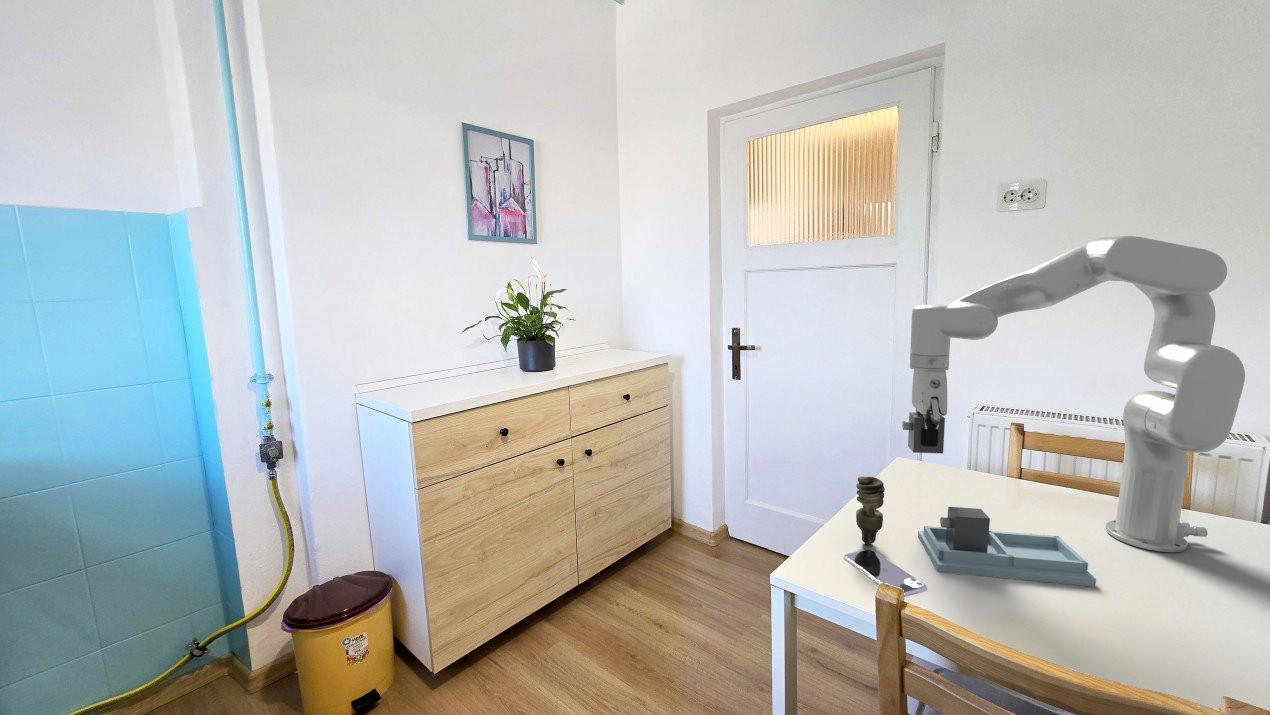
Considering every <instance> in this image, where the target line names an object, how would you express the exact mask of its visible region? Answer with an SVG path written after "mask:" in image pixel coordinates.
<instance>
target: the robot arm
mask: <svg viewBox="0 0 1270 715" xmlns="http://www.w3.org/2000/svg"><path fill="white" fill-rule="evenodd" d="M1227 276H1228V267H1227V264H1226V262H1225V260H1224V258H1222V257H1221V256H1220V255H1218V253H1216V252H1213V251H1211V250H1208V249H1204V248H1200V247H1199V248H1198V247H1195V246H1194V247H1193V246H1188V245H1183V244H1178V243H1172V242H1168V241H1162V240H1158V239H1153V238H1146V237H1143V236H1135V235H1122V236H1119V235H1118V236H1110V237H1100V238H1096V239H1093V240H1090V241H1088V242H1085V243H1082V244H1081V245H1078V246H1077V247H1074V248H1073V249H1070V250H1068V251H1066V252H1065V253H1062V254H1060V255H1058V256H1056V257H1054V258H1052V259H1050V260H1047V261H1045V262H1043V263H1041V264H1039V265H1036V266H1035V267H1032V268H1031V269H1028V270H1026V271H1024V272H1020V273H1018V274H1015V275H1012V276H1010V277H1007V278H1005V279H1003V280H1000V281H997V282H995V283H992V284H990V285H987V286H984V287H982V288H980V289H978V290H975V291H974V292H972V293H971V292H970V293H969V294H966V295H965V296H962V297H961V298H959V299H957V300H955V301H953V302H951V303H950V304H949V305H945V304H943V305H942V304H921V305H917V306H915V307H913V309H912V312H911V327H910V328H911V329H910V352H909V354H910V355H909V369H911V370H913V373H912V374H913V376H912V385H911V386H912V388H911V389H912V390H911V405H912V406H913V408H915V412H920V413H921V414H922V415H923V428H922V429H921V445H922V446H932V447H936V446H937V445H938V429H939V421H940V415H939V414H941V415H942V416H943V417H945V416H947V415H948V378H947V371H948V370H949V369H950V350H951V349H950V348H951V339H960V340H970V341H979V340H983V339H986V338H988V337H990V336H991V335H993V334H994V332H996V330H997V328H998V326H999V319H998V318H1001V317H1004V316H1007V315H1010V314H1013V313H1014V314H1015V313H1020V312H1025V311H1027V312H1028V311H1033V310H1034V311H1036V310H1040V309H1044V308H1047V307H1053V306H1055V305H1057V304H1058V303H1061V302H1064V301H1065V300H1068V299H1070V298H1072V297H1074V296H1076V295H1079V294H1081V293H1084V292H1085V291H1087V290H1090V289H1092V288H1094V287H1096V286H1099V285H1101V284H1103V283H1105V282H1110V281H1111V282H1113V281H1114V282H1124V283H1129V284H1133V286H1134V287H1135V288H1137V289H1138V290H1140V291H1141V292H1142V293H1143V294H1144V295H1145V296H1146V298H1148V300H1149V301H1150V303H1151V304H1152V309H1153V311H1154V312H1153V314H1154V318H1153V324H1152V329H1151V334H1150V338H1149V342H1148V346H1147V349H1146V353H1145V359H1144V362H1143V363H1144V364H1143V370H1144V374H1145V376H1146V377H1147V378H1148V379H1150V381H1153V382H1154V383H1156V384H1158V385H1161V386H1165V387H1169V388H1171V389H1174V390H1176V391H1175V393H1171V392H1168V391H1162V390H1147V391H1142V392H1140V393H1139V392H1138V393H1137V394H1135V395H1133V396H1132V397H1131V398H1130V399H1128V401H1127V402H1126V404H1125V406H1124V409H1123V413H1122V416H1123V418H1122V419H1123V420H1122V421H1123V422H1122V423H1123V429H1124V430H1123V431H1124V452H1123V453H1124V456H1123V463H1122V469H1121V470H1122V471H1121V477H1120V486H1119V492H1118V493H1119V494H1118V503H1117V509H1116V510H1117V511H1116V519H1113V520H1110V521H1108V522H1106V523H1105V531H1106V532H1107V534H1109V535H1110V536H1111V537H1113V538H1114V539H1117V540H1118V541H1121V542H1123V543H1125V544H1128V545H1131V546H1134V547H1137V548H1140V549H1145V550H1147V551H1154V552H1161V553H1179V552H1180V553H1181V552H1184V551H1186V550H1187V548H1188V541H1187V540H1186V539H1185V538H1188V537H1189V536H1193V537H1200V538H1201V537H1203V538H1206V537H1207V536H1208V535H1209V534H1208V533H1209V532H1208V530H1207V528H1205V527H1203V526H1193V525H1192V526H1191V525H1190V523H1189V522H1185V521H1181V520H1180V519H1181V514H1182V506H1183V500H1184V493H1185V484H1186V477H1187V473H1188V465H1189V464H1188V463H1189V462H1188V460H1189V459H1188V458H1189V457H1188V452H1189V453H1193V454H1194V453H1196V454H1198V453H1199V454H1204V453H1208V452H1211V451H1213V450H1215V449H1217V448H1219V447H1220V446H1221V445H1223V444H1224V442H1225V441H1226V439H1228V437H1229V435H1230V433H1231V430H1232V427H1233V424H1234V421H1235V417H1236V415H1237V410H1238V409H1239V408H1238V407H1239V403H1240V401H1241V396H1242V393H1243V390H1244V389H1243V388H1244V386H1245V381H1246V380H1245V379H1246V370H1245V366H1244V364H1243V361H1242V359H1240V357H1239V356H1238V355H1237V354H1236V353H1234V352H1233V351H1231V350H1230V349H1227V348H1224V347H1222V346H1219V345H1213V344H1212V338H1213V333H1214V327H1215V321H1216V307H1215V303H1214V300H1213V298H1212V296H1211V294H1210V293H1212V292H1213V291H1215V290H1217V289H1218V288H1220V287H1221V285H1223V283H1224V282H1225V281H1226V279H1227ZM927 413H931V414H927ZM927 417H931V419H929V420H928V422H927Z"/></svg>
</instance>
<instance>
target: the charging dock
mask: <svg viewBox="0 0 1270 715" xmlns="http://www.w3.org/2000/svg"><path fill="white" fill-rule="evenodd" d="M946 531H947V528H942V527H941V526H932V525H931V526H930V525H924V527H923V530H918V531H917V538H918V539H919V542H920V544H921V545H922V548H923V549H924V550H925V552H926V554H927V556H928V558H929V559H930V561H931V562H932V565H933V566H934V568H935V569H936V572H937V573H946V574H957V575H958V574H959V575H968V576H978V577H987V578H988V577H989V578H999V579H1010V580H1021V581H1032V582H1040V583H1041V582H1042V583H1053V584H1065V585H1074V586H1085V587H1094V588H1095V587H1096V585H1097V578H1096V577H1095V576H1094V575H1093V574H1091V573H1090V571H1089V568H1088V567H1089V562H1087V561H1086V560H1085V559H1084V558H1083V557H1082V556H1081V555H1080V554H1078V552H1076V551H1075V550H1074V549H1073V548H1072V547H1071V546H1070V545H1068V544H1067V543H1066V542H1065V541H1064V540H1063V539H1062V538H1061V537H1060V536H1058V535H1050V534H1049V535H1048V534H1038V533H1037V534H1035V533H1021V532H1010V531H995V530H989V537H988V549H987V553H982V552H970V551H959V550H950V549H949V547H948V546H947V544H946Z"/></svg>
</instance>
